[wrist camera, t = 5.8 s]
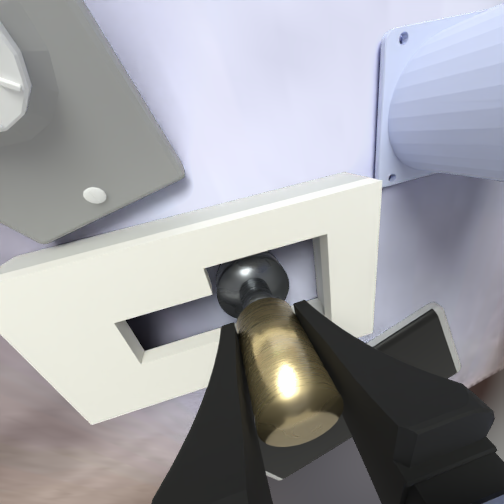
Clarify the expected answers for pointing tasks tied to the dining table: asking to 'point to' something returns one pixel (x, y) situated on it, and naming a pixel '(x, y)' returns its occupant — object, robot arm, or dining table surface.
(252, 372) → the peg
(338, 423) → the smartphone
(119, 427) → the dining table surface
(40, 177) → the light switch
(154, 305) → the keyhole board
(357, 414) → the robot arm
